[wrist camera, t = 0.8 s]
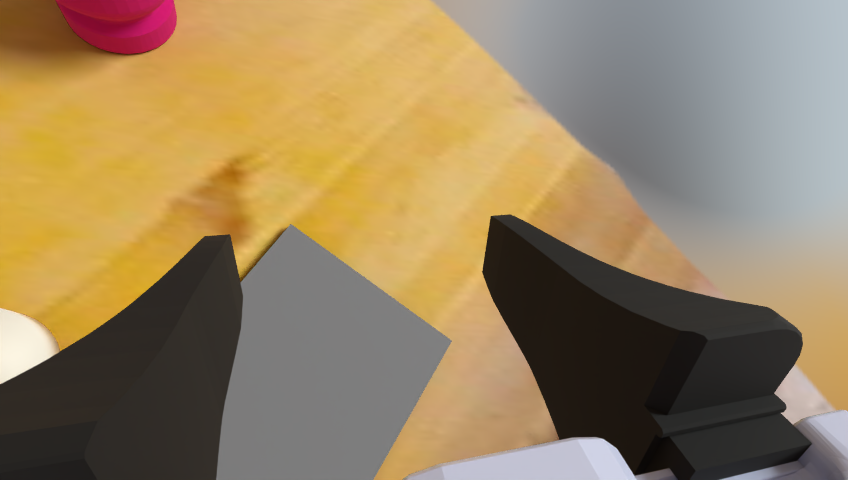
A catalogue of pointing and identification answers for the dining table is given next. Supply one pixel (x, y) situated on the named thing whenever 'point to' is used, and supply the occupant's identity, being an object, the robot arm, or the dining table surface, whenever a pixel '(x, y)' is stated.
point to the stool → (23, 344)
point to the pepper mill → (121, 23)
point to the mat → (320, 369)
